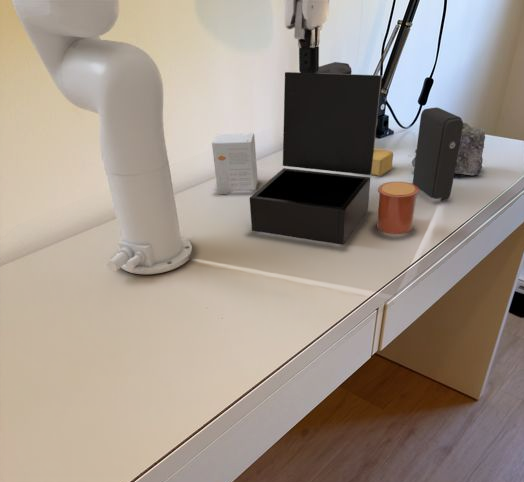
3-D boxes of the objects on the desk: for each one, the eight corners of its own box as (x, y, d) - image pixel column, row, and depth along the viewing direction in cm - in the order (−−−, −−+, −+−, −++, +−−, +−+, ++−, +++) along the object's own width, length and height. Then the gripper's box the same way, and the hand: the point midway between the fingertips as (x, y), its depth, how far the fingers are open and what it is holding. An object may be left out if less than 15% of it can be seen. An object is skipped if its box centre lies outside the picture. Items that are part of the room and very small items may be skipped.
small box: (258, 183, 112) (255, 132, 106) (255, 194, 108) (252, 141, 101) (221, 184, 113) (216, 133, 107) (217, 194, 109) (211, 142, 102)
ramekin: (370, 236, 91) (373, 193, 86) (380, 220, 95) (383, 179, 91) (408, 241, 88) (414, 198, 84) (417, 225, 93) (422, 183, 88)
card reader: (453, 200, 100) (468, 117, 91) (434, 204, 99) (447, 120, 90) (428, 184, 107) (439, 105, 98) (410, 187, 106) (420, 108, 97)
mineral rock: (408, 174, 112) (413, 124, 106) (430, 159, 118) (436, 111, 112) (467, 185, 105) (477, 133, 99) (487, 169, 112) (497, 119, 106)
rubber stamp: (392, 168, 115) (398, 109, 108) (380, 176, 112) (385, 117, 104) (352, 161, 120) (355, 104, 113) (339, 168, 117) (341, 111, 109)
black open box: (343, 249, 87) (344, 210, 83) (252, 235, 93) (249, 197, 89) (367, 213, 98) (370, 177, 93) (284, 202, 104) (283, 167, 99)
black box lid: (380, 75, 85) (387, 74, 88) (284, 72, 91) (294, 70, 94) (370, 175, 93) (376, 170, 96) (282, 165, 99) (291, 161, 102)
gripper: (303, -56, 91) (304, 63, 103) (268, -51, 81) (273, 80, 92) (345, -58, 89) (341, 64, 100) (314, -54, 78) (314, 82, 90)
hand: (309, 71), depth 96 cm, fingers closed
